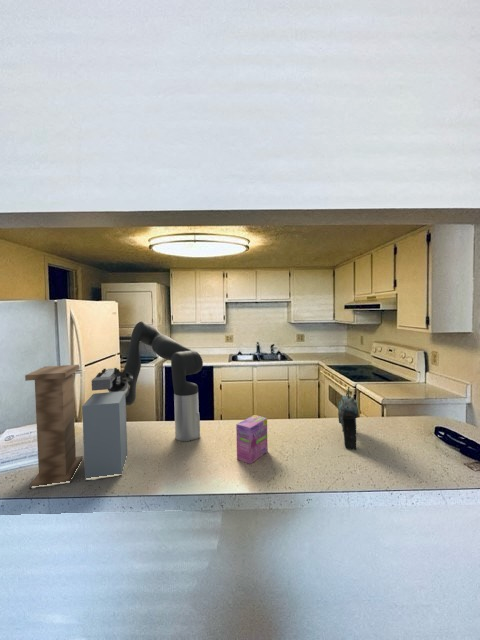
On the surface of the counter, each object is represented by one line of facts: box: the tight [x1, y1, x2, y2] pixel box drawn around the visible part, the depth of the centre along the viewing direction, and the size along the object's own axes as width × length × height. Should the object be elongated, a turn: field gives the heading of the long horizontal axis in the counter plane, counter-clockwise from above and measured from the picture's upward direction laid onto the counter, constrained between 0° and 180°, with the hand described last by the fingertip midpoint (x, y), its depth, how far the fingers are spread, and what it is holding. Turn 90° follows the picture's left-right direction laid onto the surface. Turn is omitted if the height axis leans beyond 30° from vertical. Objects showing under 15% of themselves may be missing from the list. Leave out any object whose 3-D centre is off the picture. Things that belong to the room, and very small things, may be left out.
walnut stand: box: [24, 364, 84, 488], centre depth 92 cm, size 10×14×32 cm
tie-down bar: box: [91, 367, 116, 392], centre depth 100 cm, size 20×5×3 cm, turn 14°
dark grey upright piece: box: [337, 386, 359, 450], centre depth 111 cm, size 20×6×20 cm, turn 165°
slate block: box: [81, 391, 128, 480], centre depth 95 cm, size 10×14×22 cm
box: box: [235, 414, 268, 465], centre depth 101 cm, size 10×6×12 cm, turn 143°
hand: (109, 370), depth 104 cm, fingers closed on tie-down bar, 3 cm apart
